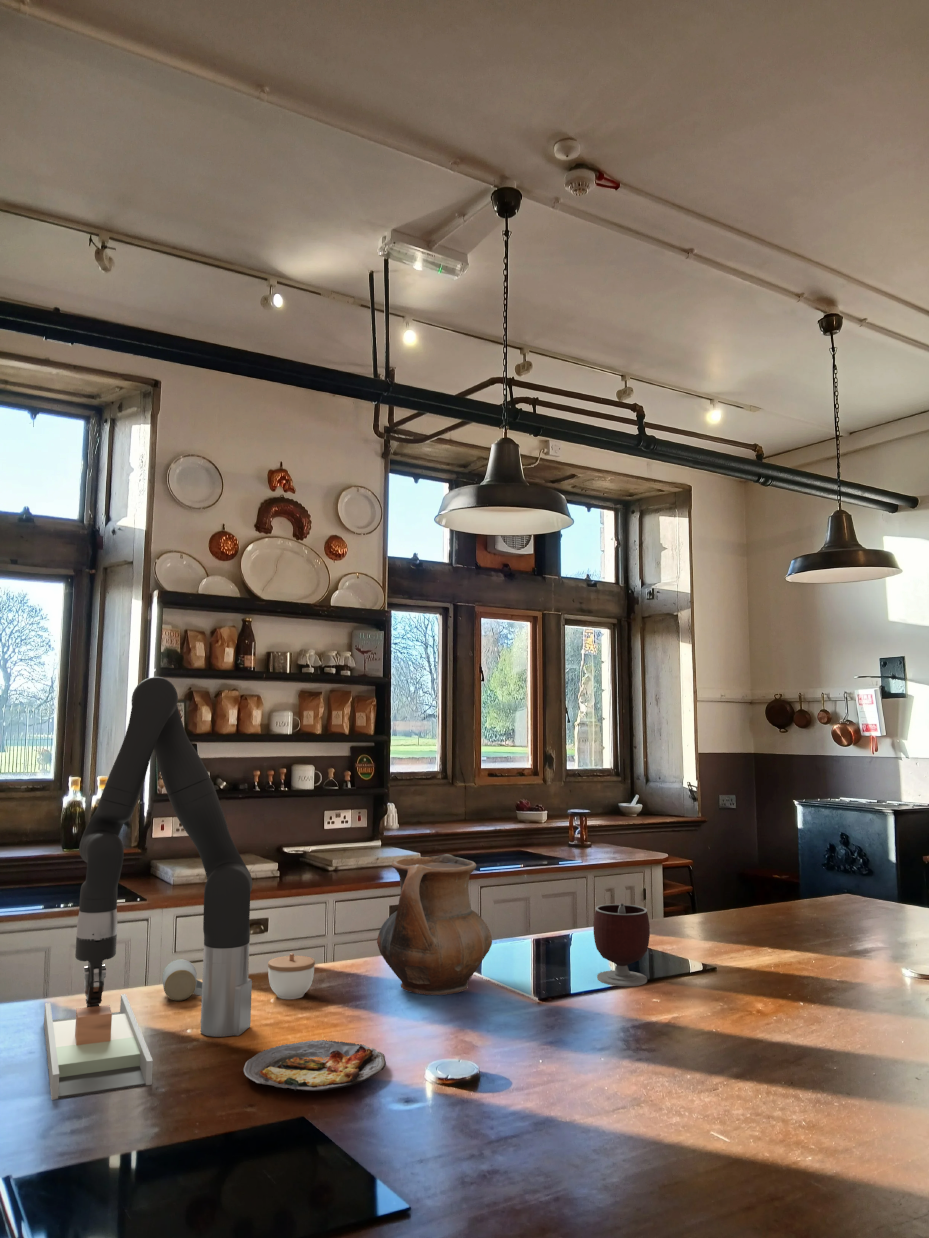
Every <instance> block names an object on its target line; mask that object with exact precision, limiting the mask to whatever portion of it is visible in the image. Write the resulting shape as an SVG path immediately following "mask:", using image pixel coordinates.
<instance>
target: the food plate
mask: <svg viewBox="0 0 929 1238" xmlns="http://www.w3.org/2000/svg"><path fill="white" fill-rule="evenodd" d="M316 1058H317V1059H319V1058H321V1059H323V1060H317V1059H316ZM386 1061H387V1060H386V1056H385V1054H384V1053H383V1052H381V1051H377V1049H376V1048H374V1047H369V1046H367V1045H365V1044H361V1043H355V1042H354V1043H353V1042H345V1041H339V1040H338V1041H335V1040H325V1039H321V1040H307V1041H300V1042H294V1043H285V1044H281V1045H277V1046H275V1047H270V1048H269V1049H264V1050H263V1051H261V1050H260V1052H258V1053H256V1054H255V1055H254V1056H252V1057H251V1058H249V1059H248V1060H247V1061H245V1064H244V1067H243V1073H244V1075H245V1076H246V1078H248V1079H250V1081H253V1082H255V1083H256V1084H262V1085H268V1086H271V1087H272V1086H274V1087H275V1088H283V1089H287V1088H289V1089H292V1090H294V1091H295V1092H296V1091H297V1090H302V1091H314V1092H317V1091H319V1092H323V1091H331V1090H334V1089H340V1088H344V1087H350V1086H354V1085H356V1084H359V1083H364V1082H366V1081H367V1080H368V1079H371V1077H373V1076H375V1075H376V1074H378V1073H379V1072H381V1071H384V1068H385V1067H386V1066H387V1062H386ZM278 1066H280V1068H279V1067H278Z"/></svg>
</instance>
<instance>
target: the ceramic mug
mask: <svg viewBox="0 0 929 1238" xmlns="http://www.w3.org/2000/svg"><path fill="white" fill-rule="evenodd" d="M197 978H198V976H197V969H196V968H195V965H194V964H193V963H192V962H191V961H189V960H186V959H183V958H180V959H174V960H172V961H171V962H169V963H168V964H167V965H166V967H165V968H164V969H163V973H162V985H163V986H162V987H163V990H164V994H165V995H166V996H167V998H169V999H170V1000H172V1001H175V1002H180V1001H181V1002H182V1001H184V1000H188V998H190V997H191V996H192V995H196V996H199V997H202V981H201V980H198V979H197Z"/></svg>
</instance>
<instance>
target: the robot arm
mask: <svg viewBox="0 0 929 1238" xmlns="http://www.w3.org/2000/svg"><path fill="white" fill-rule="evenodd" d="M178 702H179V695H178V691H177V689H176V687H175V685H174V684H173V683H172V682H171V681H169V680H168V679H167V678H164V677H161V676H152V677H148V678H146V679H143V680H142V681H141V682H139V684H137V686H136V687H135V688H134V691H133V692H132V696H131V710H130V717H129V721H128V723H127V729H126V731H125V736H124V739H123V740H122V744H121V746H120V749H119V751H118V754H117V757H116V758H115V760H114V762H113V765H112V767H111V770H110V771H109V774H108V777H107V779H106V782H105V784H104V788H103V790H102V793H101V796H100V799H99V802H98V805H97V808H96V809H95V811H94V813H93V815H92V816H91V818H90V820H89V822H88V824H87V826H86V827H85V829H84V831H83V833H82V836H81V839H80V842H79V848H78V849H79V851H78V852H79V855H80V857H81V859H82V860H83V861H84V862H85V863H86V865H87V866H86V873H85V874H86V875H85V881H84V882H83V883H82V884H81V887H80V892H79V908H78V909H79V910H78V911H79V912H78V917H77V922H76V934H75V935H76V936H75V937H76V938H75V953H74V955H75V960H78V961H80V962H87V966H84V967H83V976H84V977H83V978H84V984H83V985H84V986H83V988H84V993H85V994H84V995H85V1004H86V1007H95V1006H100V1005H101V1004H102V1001H103V1000H102V999H103V992H104V991H105V989H104V988H105V978H106V977H107V968H106V964H103V962H104V961H106V960H111V959H112V958H114V957H115V956H116V954H117V940H118V939H117V938H118V937H117V936H118V911H117V908H118V892H119V891H118V885H119V881H120V878H121V875H122V874H121V873H122V868H123V865H124V863H123V862H124V857H125V856H124V854H125V853H124V844H123V841H122V840H121V838H120V837H119V835H120V833H121V830H122V829H123V826H124V825H125V823H126V822H128V821H129V820H130V819H131V818H132V815H133V813H134V811H135V809H136V806H137V803H138V800H139V797H140V795H141V792H142V788H143V786H144V782H145V779H146V776H147V772H148V768H149V764H150V762H151V758H152V754H153V752H154V754H155V756H156V757H155V758H156V761H157V765H158V768H159V769H158V770H159V773H160V776H161V780H162V782H163V786H164V788H165V791H166V794H167V797H168V800H169V802H170V804H171V806H172V810H173V812H174V813H175V816H176V818H177V820H178V821H179V823H180V825H181V826H182V828H183V829H184V831H185V833H186V834H187V835H188V837H189V838H190V840H191V841H192V843H193V845H194V846H195V847H196V850H197V853H198V855H199V856H200V857H199V858H200V859H201V862H202V865H203V868H204V869H203V870H204V872H205V876H206V882H205V885H204V890H203V891H204V892H203V893H204V894H203V918H202V920H203V921H202V922H203V925H202V926H203V927H202V929H203V931H202V932H203V957H202V958H203V960H202V981H201V982H202V996H201V1004H200V1005H201V1007H200V1011H201V1012H200V1033H201V1034H202V1035H204V1036H207V1037H212V1038H213V1037H217V1038H220V1037H221V1038H223V1037H231V1036H241V1035H242V1034H243V1033H244V1032H245V1031H246V1030H247V1029H249V1028H250V1027H251V1017H252V1016H251V1015H252V992H253V991H252V989H253V987H252V985H253V981H252V978H249V972H250V971H249V968H250V942H251V941H250V940H251V928H250V924H251V923H250V919H251V918H250V917H251V916H250V914H251V913H250V912H251V893H252V891H253V878H252V875H251V872H250V871H249V869H248V867H247V866H246V863H245V862H244V860H243V857H242V856H241V855H240V853H239V850H238V848H237V846H236V844H235V842H234V841H233V839H232V835H231V833H230V832H229V830H230V829H229V828H228V824H227V820H226V817H225V814H224V810H223V808H222V805H221V802H220V799H219V797H218V793H217V790H216V788H215V786H214V783H213V781H212V779H211V776H210V773H209V772H208V769H207V768H206V766H205V763H204V761H203V760H202V758H201V756H200V755H199V754H198V752H197V750H196V749H195V747H194V746H193V744H192V743H191V741H190V739H189V736H188V735H187V732H186V730H185V727H184V724H183V720H182V717H181V715H180V711H179V706H178Z"/></svg>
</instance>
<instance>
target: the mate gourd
mask: <svg viewBox="0 0 929 1238" xmlns="http://www.w3.org/2000/svg"><path fill="white" fill-rule="evenodd" d="M650 928H651V927H650V920H649V914H648V909H647V908H645V907H643V906H641V905H640V906H639V905H634V904H624V903H622V902H621V903H612V904H611V903H609V904H601V905H597V906H596V907H595V911H594V917H593V938H594V945H595V948H596V950H597V951H598V953H599V954H600V956H601V957H602V959H605V960H607V961H609V962H611V963H613V964H614V965H616V966H615V969H613V970H606V971H600V972H599V973H597V976H596V977H597V978H596V979H597V981H598V982H599V983H602V984H605V985H607V986H608V985H610V986H615V987H638V986H644V985H645V984H647V982H648V977H647V976H646V975H644V974H643V973H640V972H635V971H630V970H629V966H628V965H630V964H633V963H636V962H637V961H641V960H642V958H643V957H644V956H645V955H646V953H647V951H648V949H649V944H650V943H649V942H650V935H651V934H650V933H651V931H650Z"/></svg>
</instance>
